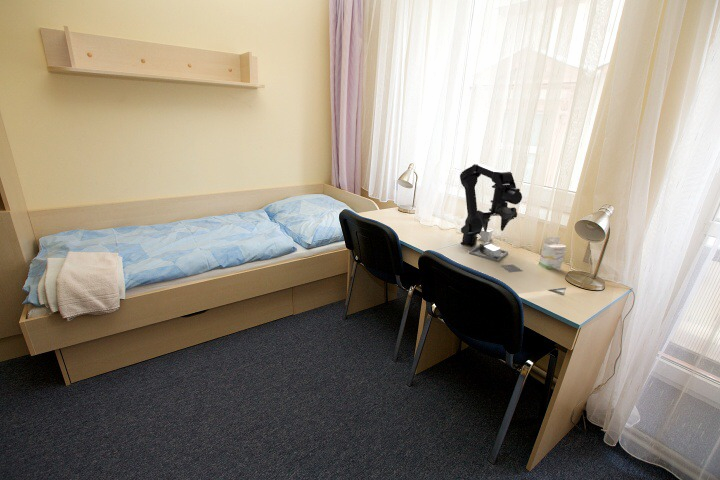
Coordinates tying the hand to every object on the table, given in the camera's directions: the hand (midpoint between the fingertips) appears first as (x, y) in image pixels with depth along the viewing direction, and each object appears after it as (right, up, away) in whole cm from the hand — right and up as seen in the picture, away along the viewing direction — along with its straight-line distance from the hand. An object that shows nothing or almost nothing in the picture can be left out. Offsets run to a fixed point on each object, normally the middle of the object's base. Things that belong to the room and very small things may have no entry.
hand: (493, 231), depth 161 cm
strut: (-2, -8, +6) cm, 10 cm away
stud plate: (+3, -18, -11) cm, 22 cm away
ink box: (+23, -18, -7) cm, 29 cm away
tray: (-1, -12, +4) cm, 13 cm away
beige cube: (+6, -4, +28) cm, 28 cm away
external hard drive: (+16, -24, -23) cm, 36 cm away
